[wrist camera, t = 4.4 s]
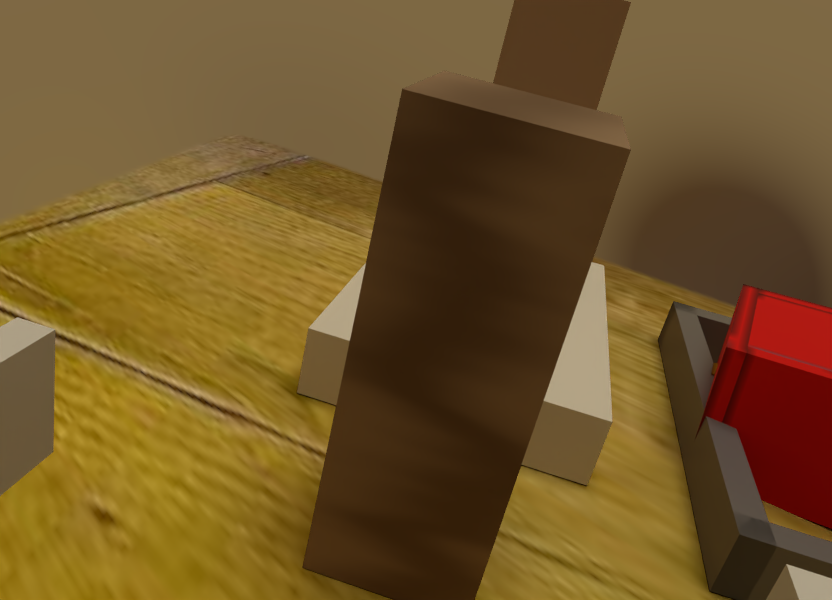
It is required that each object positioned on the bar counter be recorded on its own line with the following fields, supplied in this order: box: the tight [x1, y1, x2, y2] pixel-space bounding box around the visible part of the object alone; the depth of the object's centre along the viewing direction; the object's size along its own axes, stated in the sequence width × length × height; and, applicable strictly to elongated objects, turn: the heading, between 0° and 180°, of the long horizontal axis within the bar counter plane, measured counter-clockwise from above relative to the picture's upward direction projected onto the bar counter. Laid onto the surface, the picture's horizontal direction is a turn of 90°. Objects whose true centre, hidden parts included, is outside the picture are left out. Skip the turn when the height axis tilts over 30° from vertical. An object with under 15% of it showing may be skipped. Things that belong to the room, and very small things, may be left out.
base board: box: [297, 0, 631, 485], centre depth 34 cm, size 12×18×17 cm, turn 167°
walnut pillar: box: [303, 71, 631, 600], centre depth 21 cm, size 5×5×14 cm
